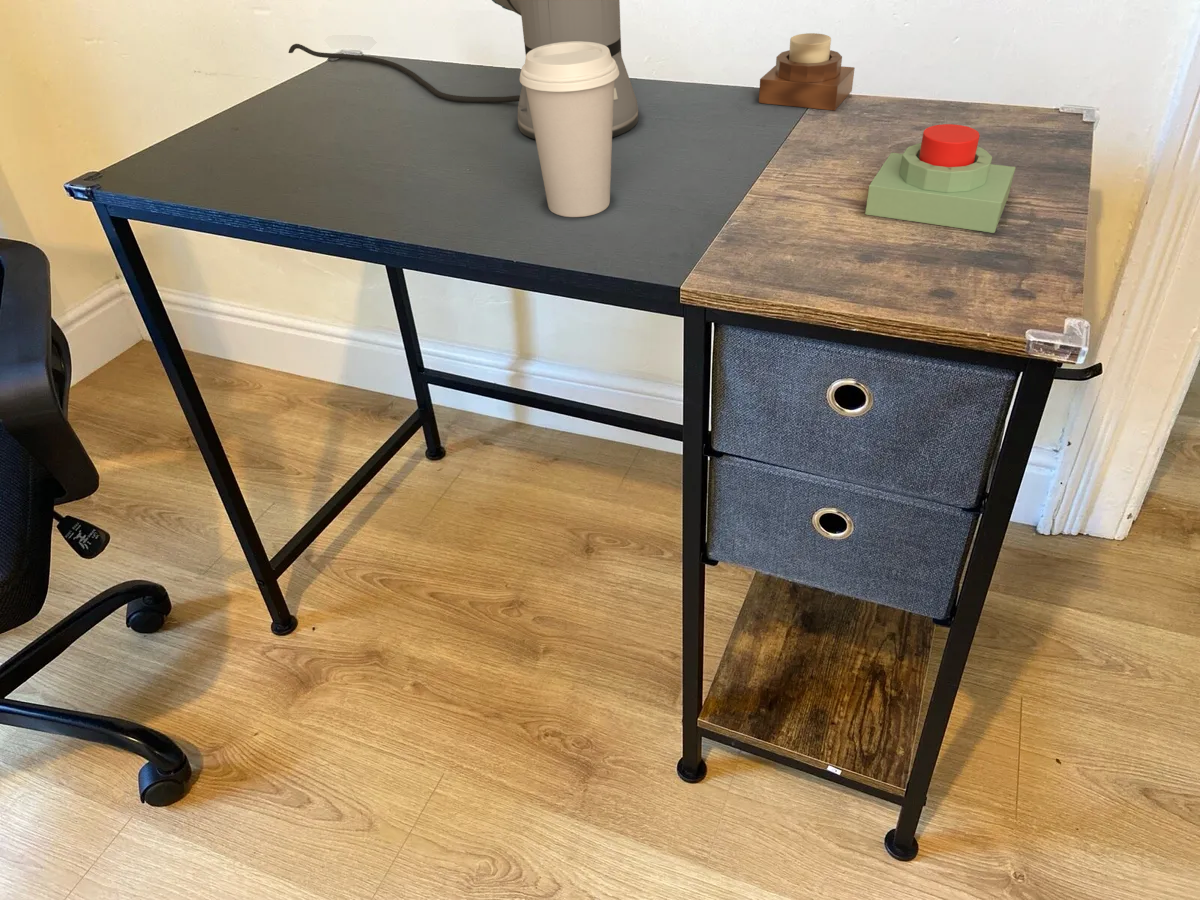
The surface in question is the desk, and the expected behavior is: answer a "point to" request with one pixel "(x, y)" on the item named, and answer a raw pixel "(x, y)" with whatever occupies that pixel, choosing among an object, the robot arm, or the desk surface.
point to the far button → (809, 48)
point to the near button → (949, 145)
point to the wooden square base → (807, 83)
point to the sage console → (941, 191)
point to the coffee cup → (572, 123)
